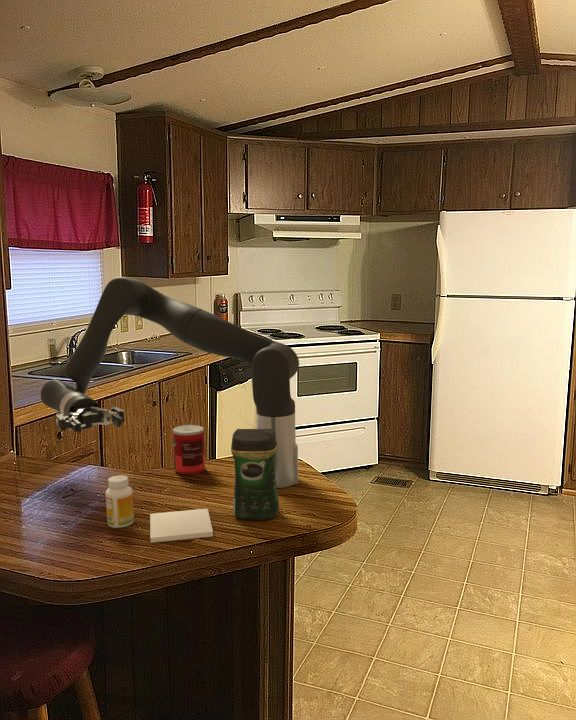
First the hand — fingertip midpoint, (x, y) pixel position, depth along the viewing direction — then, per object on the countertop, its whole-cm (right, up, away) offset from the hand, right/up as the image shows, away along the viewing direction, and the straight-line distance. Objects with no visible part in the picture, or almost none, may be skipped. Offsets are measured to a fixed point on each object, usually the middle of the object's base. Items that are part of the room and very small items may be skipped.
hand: (99, 425), depth 143 cm
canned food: (+16, -14, +26) cm, 34 cm away
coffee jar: (+34, -19, -2) cm, 39 cm away
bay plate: (+19, -20, -9) cm, 29 cm away
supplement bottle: (+6, -20, -6) cm, 22 cm away
